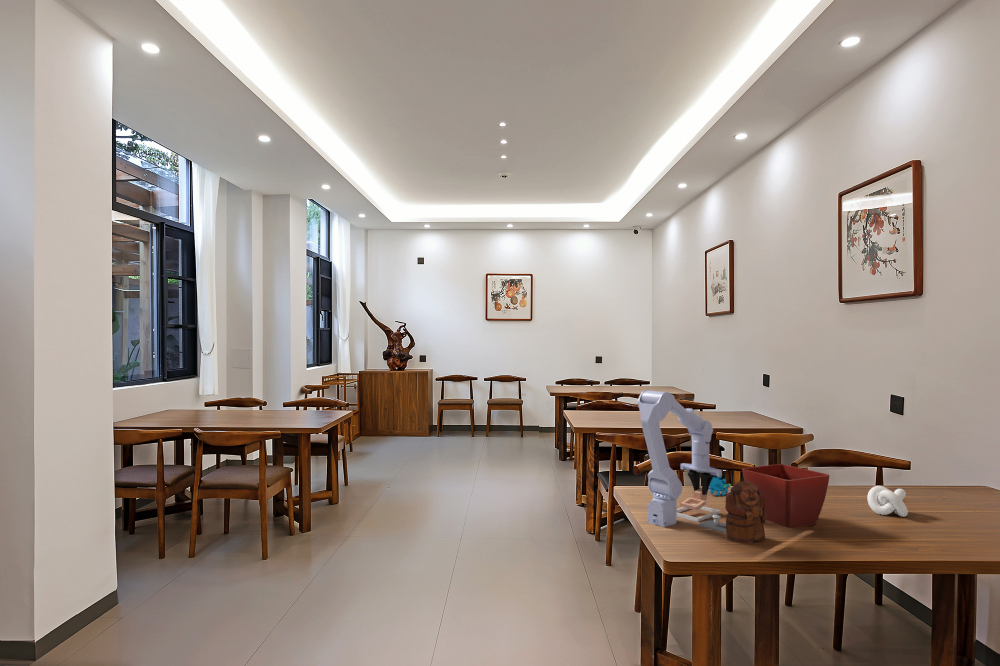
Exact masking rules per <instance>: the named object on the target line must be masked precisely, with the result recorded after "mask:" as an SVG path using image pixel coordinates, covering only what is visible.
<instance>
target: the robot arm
mask: <svg viewBox="0 0 1000 666" xmlns="http://www.w3.org/2000/svg"><path fill="white" fill-rule="evenodd" d="M637 405H638V409H639V412H640V423H641V428H642V432H643V436H644V440H645V444H646V447H647V452H648V456H649V460H650V464H651V465H650V466H651V468H652V469H651V470H650V471H649V472H648V474H647V478H648V482H647V486H648V490H649V491H650V493H651V496H653V498H652V499H651V500H650V501H649V502H648V504H647V523H648V524H651V525H655V526H659V527H662V528H665V527H668V526H673V525H676V524H677V520H678V516H677V509H678V507H677V506H678V504H677V500H678V499H679V497H680V496H681V495H682V493H683V484H682V481H681V480H680V478H679V475H678V473H677V472H676V471H674V470H673V468H671V467H670V461H669V458H668V454H667V450H666V446H665V442H664V437H663V433H662V429H661V425H660V422H661V421H663V420H664V419H665V418H666V417H667V415H668V414H669V413H672V414H673V415H675V416H677V419H678V422H679V423H680V424H681V425H683V426H684V427H685V428H686V429H687V431H688V434H689V435H691V463H684V462H683V463H680V470H685V471H686V470H687V471H688V472H687V476H688V478H689V479H690V483H691V484H692V485H691V486H692V488H693V492H694V491H696V490H698V489H699V488H702V495H706V494H707V495H708V492H709V490H708V488H709V485H710V483H711V481H712V479H713V477H717V476H718V477H719V476H721V477H722V476H723V470H722V469H719V468H716V467H711V466H710V442H711V440H712V434H713V432H714V427H713V425H712V423H711V421H710V420H707V419H703V417H702V416H701V415H698V413H696V412H694V411H695V409H693V408H689V407H688V408H684V406H683V405H681V404H680V403H679V402H678V401H677V400H676V398H675V395H673V394H672V393H671V392H669V391H659V390H658V391H657V390H656V391H655V390H648V389H644V390H642V391H641V393H640V394H639V396H638V399H637ZM714 475H715V476H714ZM700 481H701V482H700ZM700 483H701V484H700Z"/></svg>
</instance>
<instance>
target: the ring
mask: <svg viewBox="0 0 1000 666" xmlns="http://www.w3.org/2000/svg"><path fill="white" fill-rule="evenodd" d="M706 500H708V493H707V494H706V495H702V487H700V488H699V489H698V490H696V491H694V490H693V497H690V496H689V497H688V498H686V499H685V500H683V501H682V502H680V508H682V507H685V508H689V509H688V510H693V511H698V510H701V509H700V508H701V507H703V506H704V507H705V505H707V501H706ZM691 503H692V504H696V505H692V504H691Z"/></svg>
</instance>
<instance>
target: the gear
mask: <svg viewBox="0 0 1000 666" xmlns="http://www.w3.org/2000/svg"><path fill="white" fill-rule="evenodd" d="M726 482H727V480H726V478H723V479H722V476H719V477H718V476H716V475H714V477H713V479H712V481H711V483H710V485H709V488H708V491H710V492H709V493H710V494H711V495H714V494H715V495H716V496H717V497H721V496H723V497H724V496H726V493H727V494H728V493H729V491H730V490H729V488H731V487H732V484H731V483H726ZM715 492H716V493H715ZM720 492H721V493H720Z"/></svg>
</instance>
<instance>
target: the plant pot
mask: <svg viewBox="0 0 1000 666" xmlns="http://www.w3.org/2000/svg"><path fill="white" fill-rule="evenodd" d="M741 470H742V475H743V481H746V482H750V483H752V484H754V485H756V486H757V488H758V489H759V491H761V492H762V493H763V494H764V497H765V509H766V521H768V522H770V523H773V524H776V525H780V526H782V527H785V528H795V527H801V526H805V527H809V526H810V527H811V526H815V525H816V524H817V522H818V519H819V517H820V514H821V512H822V509H823V507H824V503H825V499H826V496H827V492H828V486H829V482H830V481H829V480H830V474H829V473H823V472H819V471H815V470H810V469H807V468H801V467H797V466H792V465H788V464H785V463H784V464H783V463H779V464H777V463H776V464H767V465H761V466H752V467H743V468H742V469H741Z"/></svg>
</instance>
